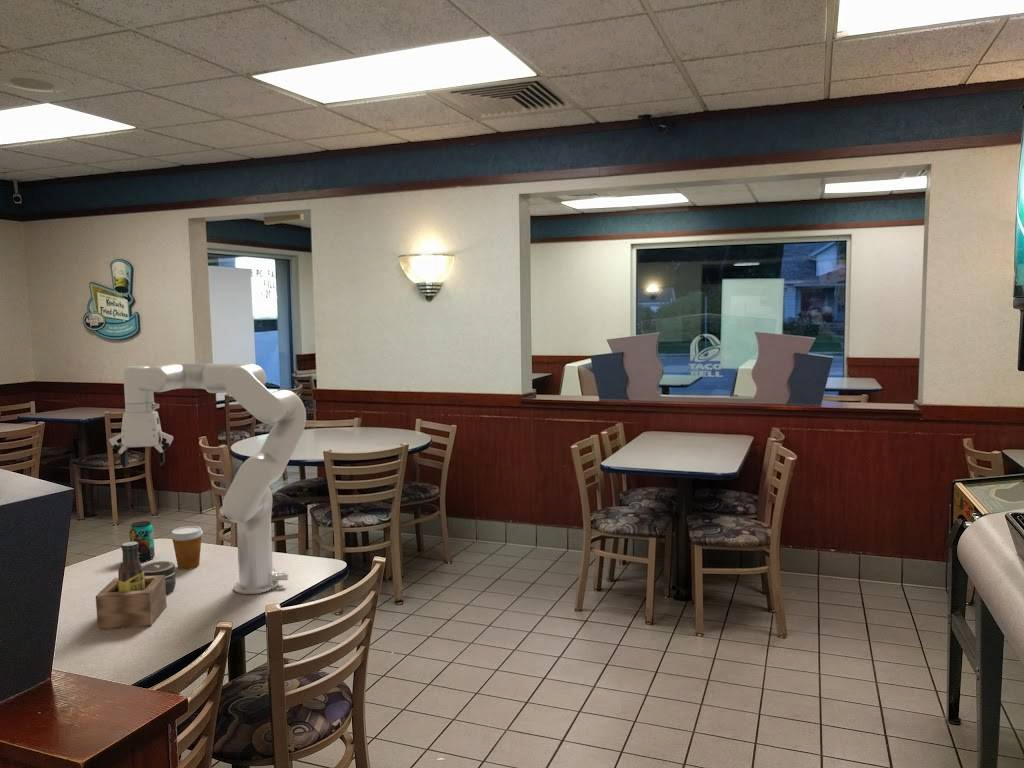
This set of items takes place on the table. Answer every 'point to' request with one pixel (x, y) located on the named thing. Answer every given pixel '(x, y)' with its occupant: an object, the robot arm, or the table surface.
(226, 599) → the table surface
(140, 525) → the beverage can
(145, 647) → the table surface
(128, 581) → the sauce bottle
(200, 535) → the disposable coffee cup
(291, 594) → the table surface
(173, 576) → the jar
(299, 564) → the table surface
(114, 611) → the walnut box
